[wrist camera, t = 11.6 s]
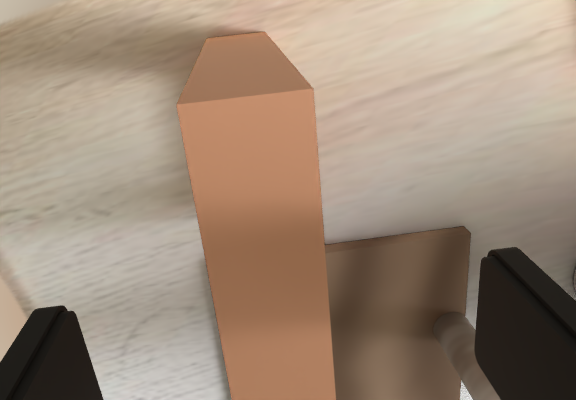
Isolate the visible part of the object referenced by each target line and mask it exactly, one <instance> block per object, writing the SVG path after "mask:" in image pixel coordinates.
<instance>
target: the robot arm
mask: <svg viewBox="0 0 576 400" xmlns="http://www.w3.org/2000/svg"><path fill="white" fill-rule="evenodd" d="M474 352H475V357H476V360H477V363H478V365H479V367H480V368H481V370H482V371H483V373H484V374H485V376H486V377H487V379H488V381H489V382H490V384H491V385H492V387H493V388H494V390H495V391H496V393H497V395H498V396H499V398H500V399H501V400H576V301H575V300H574V299H573V298H572V297H571V296H570V295H569V294H567V293H566V292H565V291H564V290H563V289H562V288H561V287H560V286H559V285H558V284H557V283H556V282H554V281H553V280H552V279H551V278H550V277H549V276H548V275H547V274H546V273H545V272H544V271H542V270H541V269H540V268H539V267H538V266H537V265H536V264H535V263H534V262H533V261H532V260H530V259H529V258H528V257H527V256H526V255H525V254H524V253H523V252H522V251H521V250H520V249H518V248H517V247H511V248H504V249H496V250H491V251H489V253H488V256H487V257H484V258H482V260H481V266H480V280H479V293H478V306H477V319H476V333H475V346H474ZM0 400H103V397H102V394H101V391H100V388H99V385H98V381H97V378H96V375H95V372H94V369H93V366H92V363H91V360H90V357H89V353H88V350H87V347H86V344H85V341H84V338H83V335H82V332H81V328H80V325H79V322H78V319H77V316H76V314H75V312H74V311H67V309H66V307H65V306H54V307H46V308H38V309H35V310H34V311H33V312H32V314H31V315H30V317H29V319H28V320H27V322H26V323H25V325H24V326H23V328H22V329H21V331H20V333H19V334H18V336H17V337H16V339H15V341H14V342H13V343H12V345H11V347H10V348H9V350H8V351H7V353H6V355H5V356H4V358H3V359H2V361H1V362H0Z"/></svg>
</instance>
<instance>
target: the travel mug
mask: <svg viewBox="0 0 576 400" xmlns="http://www.w3.org/2000/svg"><path fill="white" fill-rule="evenodd" d="M574 288H575V291H576V270H575V274H574Z"/></svg>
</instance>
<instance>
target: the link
mask: <svg viewBox="0 0 576 400" xmlns="http://www.w3.org/2000/svg"><path fill="white" fill-rule="evenodd" d="M176 106H177V111H178V116H179V122H180V127H181V132H182V138H183V143H184V148H185V154H186V159H187V164H188V170H189V175H190V180H191V186H192V191H193V196H194V202H195V207H196V212H197V217H198V223H199V228H200V233H201V239H202V244H203V249H204V255H205V260H206V265H207V271H208V276H209V281H210V287H211V292H212V297H213V303H214V308H215V313H216V319H217V324H218V329H219V335H220V340H221V345H222V351H223V356H224V361H225V367H226V372H227V377H228V382H229V388H230V393H231V398H232V400H336V392H335V379H334V365H333V351H332V338H331V324H330V310H329V297H328V283H327V269H326V256H325V242H324V228H323V215H322V201H321V187H320V174H319V160H318V146H317V133H316V119H315V105H314V92H313V88H312V87H311V85H310V84H309V83H308V82H307V81H306V80H305V78H304V77H303V76H302V75H301V74H300V72H299V71H298V70H297V69H296V68H295V67H294V65H293V64H292V63H291V62H290V61H289V60H288V58H287V57H286V56H285V55H284V54H283V53H282V51H281V50H280V49H279V48H278V47H277V46H276V44H275V43H274V42H273V41H272V40H271V38H270V37H269V36H268V35H267V34H266V33H265V32H257V33H248V34H239V35H230V36H221V37H212V38H207V39H206V41H205V43H204V45H203V47H202V50H201V52H200V54H199V56H198V58H197V61H196V63H195V65H194V67H193V69H192V72H191V74H190V76H189V78H188V80H187V82H186V85H185V87H184V89H183V91H182V93H181V96H180V98H179V100H178V102H177V104H176Z"/></svg>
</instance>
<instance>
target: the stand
mask: <svg viewBox="0 0 576 400" xmlns="http://www.w3.org/2000/svg"><path fill="white" fill-rule="evenodd" d="M470 238H471V233H470V232H469V231H468V230H467V229H466V228H465V227H464V226H462V227H454V228H447V229H439V230H432V231H425V232H417V233H410V234H402V235H395V236H388V237H380V238H373V239H365V240H358V241H351V242H343V243H336V244H329V245H325V256H326V269H327V283H328V297H329V310H330V324H331V338H332V351H333V365H334V379H335V392H336V400H460V387H461V380H462V382H463V383H464V385H465V387H466V388H467V390H468V392H469V394H470V395H471V397H472V399H473V400H501V399H500V398H499V396H498V395H497V393H496V391H495V390H494V388H493V387H492V385H491V384H490V382H489V381H488V379H487V377H486V376H485V374H484V373H483V371H482V370H481V368H480V367H479V365H478V363H477V360H476V357H475V352H474V346H475V333H476V331H475V329H474V328H473V327H472V325H471V324H470V322H469V321H468V320H467V318H466V317H465V313H466V298H467V283H468V268H469V253H470Z"/></svg>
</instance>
